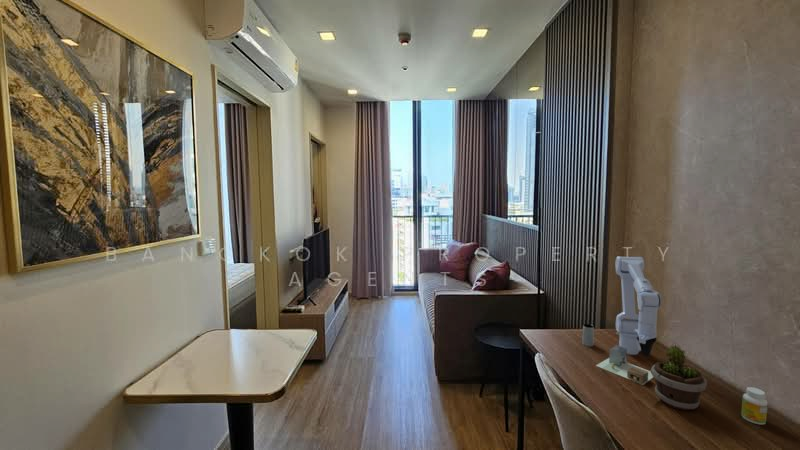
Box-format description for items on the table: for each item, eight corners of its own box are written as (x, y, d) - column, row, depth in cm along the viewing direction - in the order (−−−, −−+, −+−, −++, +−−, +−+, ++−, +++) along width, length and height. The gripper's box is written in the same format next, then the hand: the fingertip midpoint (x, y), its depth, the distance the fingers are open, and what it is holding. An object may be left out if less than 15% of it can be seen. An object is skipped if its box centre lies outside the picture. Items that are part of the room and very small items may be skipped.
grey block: (615, 358, 142) (616, 345, 142) (626, 362, 139) (626, 348, 138) (609, 362, 139) (609, 349, 138) (619, 366, 135) (620, 352, 135)
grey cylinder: (589, 349, 153) (590, 328, 152) (580, 345, 157) (580, 325, 156) (595, 347, 155) (596, 326, 154) (586, 343, 159) (586, 323, 158)
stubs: (636, 376, 128) (636, 373, 128) (640, 378, 127) (641, 374, 126) (632, 380, 126) (632, 376, 126) (636, 381, 125) (636, 377, 124)
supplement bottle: (736, 414, 107) (738, 386, 106) (751, 413, 108) (753, 385, 107) (755, 425, 102) (757, 396, 101) (771, 424, 102) (773, 395, 102)
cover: (633, 373, 130) (633, 366, 130) (647, 379, 126) (648, 371, 126) (627, 377, 127) (627, 370, 127) (642, 383, 123) (642, 375, 123)
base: (610, 359, 144) (611, 352, 144) (657, 376, 130) (657, 369, 129) (595, 368, 137) (595, 361, 136) (642, 388, 123) (643, 379, 122)
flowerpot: (711, 422, 104) (716, 362, 102) (651, 406, 112) (654, 350, 110) (700, 397, 116) (704, 343, 114) (646, 385, 124) (649, 334, 123)
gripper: (640, 314, 136) (638, 345, 137) (630, 324, 127) (628, 357, 128) (661, 319, 131) (659, 351, 132) (652, 329, 121) (650, 364, 123)
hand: (645, 355), depth 130 cm, fingers closed
